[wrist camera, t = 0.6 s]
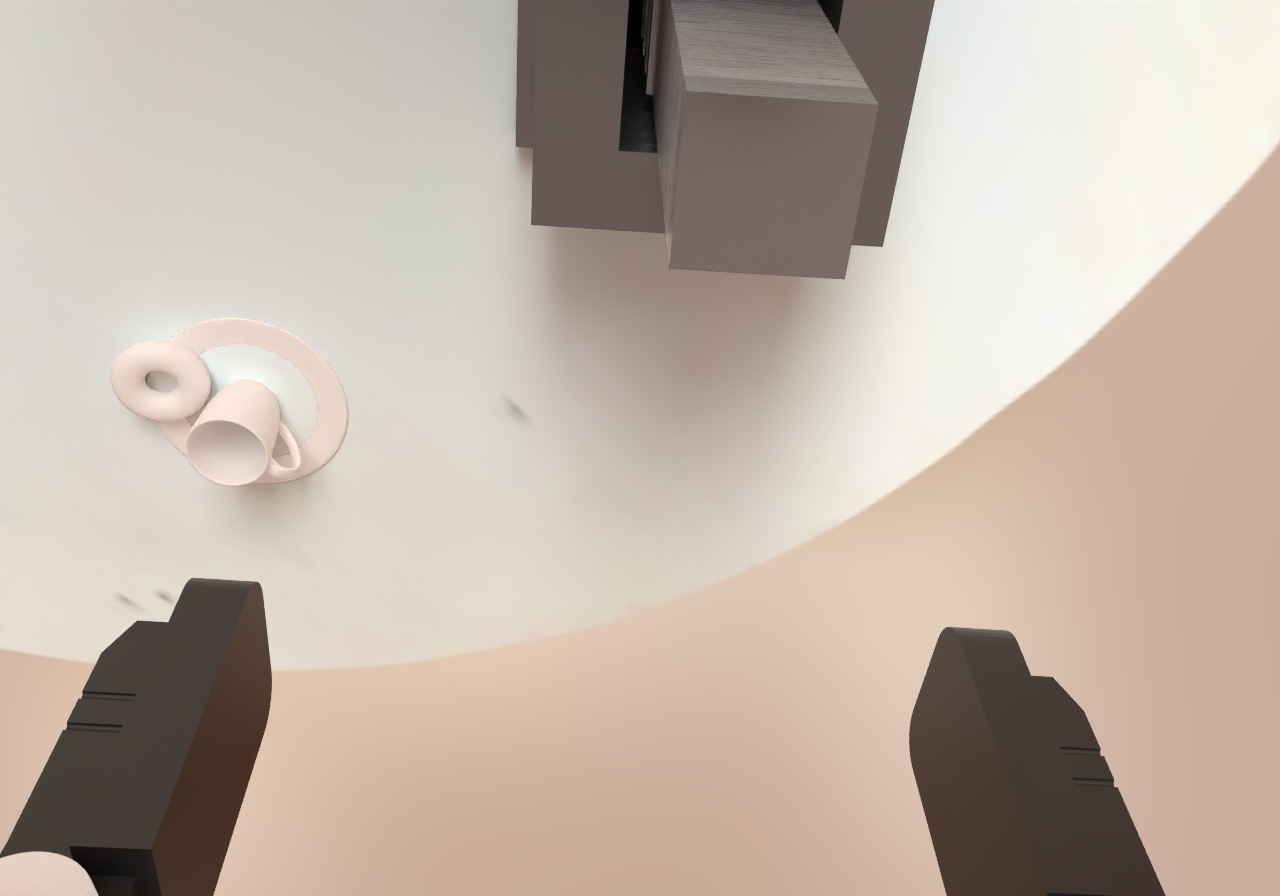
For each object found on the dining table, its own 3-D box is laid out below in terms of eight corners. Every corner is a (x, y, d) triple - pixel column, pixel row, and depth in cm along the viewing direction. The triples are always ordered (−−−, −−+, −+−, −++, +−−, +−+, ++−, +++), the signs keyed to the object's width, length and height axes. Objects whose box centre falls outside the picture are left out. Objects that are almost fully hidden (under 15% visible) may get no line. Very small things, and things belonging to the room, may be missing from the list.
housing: (525, -259, 34) (493, -227, 25) (921, -225, 35) (1033, -180, 26) (517, 134, 41) (491, 274, 32) (850, 156, 42) (919, 300, 33)
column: (649, -100, 37) (679, 82, 21) (770, -91, 37) (888, 97, 21) (640, 25, 39) (660, 274, 23) (754, 34, 39) (850, 286, 24)
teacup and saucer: (94, 363, 47) (53, 419, 43) (236, 260, 44) (205, 310, 41) (251, 505, 51) (226, 565, 47) (390, 418, 48) (373, 475, 45)
